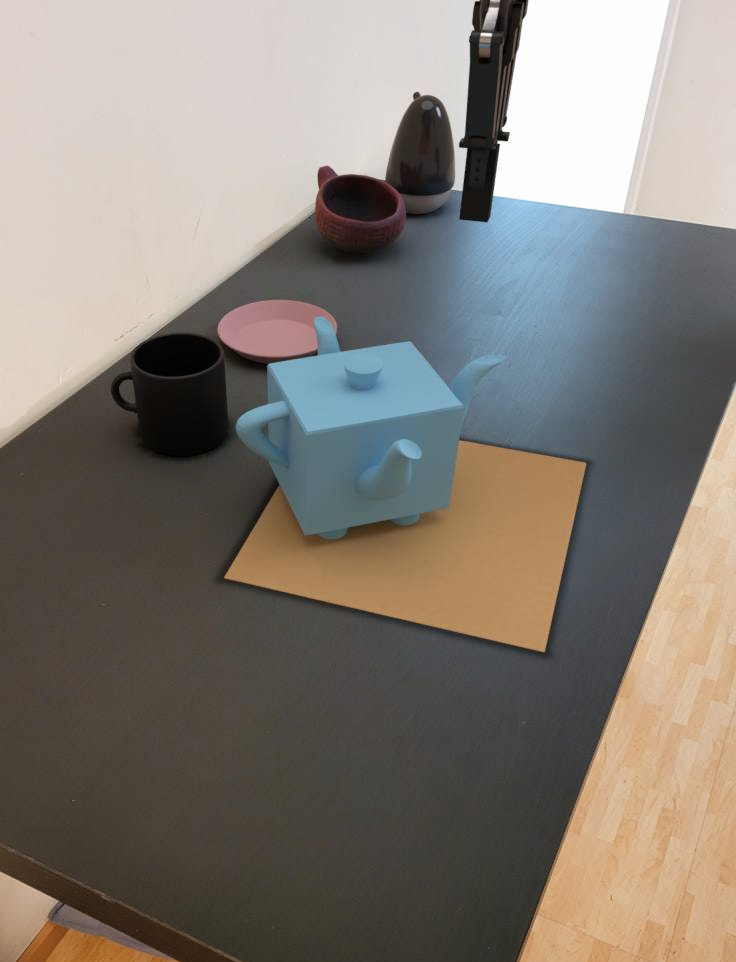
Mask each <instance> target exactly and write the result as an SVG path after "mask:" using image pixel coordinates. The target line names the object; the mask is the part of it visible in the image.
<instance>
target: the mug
mask: <svg viewBox="0 0 736 962" xmlns="http://www.w3.org/2000/svg"><path fill="white" fill-rule="evenodd" d="M225 360H226V359H225V351H224V348H223V346H222V345H221V344H220V343H219V342H218V341H217V340H216V339H214V338H212V337H210V336H208V335H204V334H201V333H196V332H183V331H182V332H169V333H163V334H159V335H154V336H152V337H150V338H148V339H146V340H143V341H142V342H140V343H139V344H138V345H136V346H135V347H134V348H133V350H132V351H131V352H130V357H129V362H130V369H129V370H126V371H122V372H120V373H119V374H117V375H116V376H115V377H114V378H113V380H112V382H111V385H110V395H111V397H112V399H113V401H114V402H115V404H116V405H117V406H118V407H120V408H121V409H123V410H125V411H127V412H131V413H134V414H136V415H137V422H138V423H137V424H138V429H139V436H140V439H141V441H143V443H144V444H145V445H146V446H147V447H148V448H149V449H151V450H152V451H154V452H157V453H159V454H163V455H167V456H175V457H176V456H177V457H181V456H183V457H187V456H193V455H199V454H201V453H205V452H208V451H211V450H212V449H214V448H216V447H217V446H218V445H220V444H221V443H222V442H223V441H224V440H225V438H226V436H227V434H228V431H229V414H228V398H227V397H228V396H227V379H226V378H227V377H226V361H225ZM128 380H129V381H132V385H133V393H134V402H130V401H127V400H126V399H125V398H124V397H123V396H122V394H121V391H120V386H121V384H123V382H125V381H128Z"/></svg>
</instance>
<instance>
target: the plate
mask: <svg viewBox="0 0 736 962" xmlns="http://www.w3.org/2000/svg"><path fill="white" fill-rule="evenodd" d="M316 317H324V318H326V319H327V320H328V321H329V322H330V323H331V324H332V326H333V328H334V331H335V334H336V335H337V333H338V324H337V322H336V319H335V318H334V317H333V316H332V315H331V314H330V313H329V312H328V311H327V310H325V309H323V308H321V307H318V306H317V305H314V304H311V303H307V302H305V301H304V302H303V301H298V300H291V299H289V300H288V299H270V300H259V301H254V302H252V303H248V304H244V305H241V306H238V307H237V308H234V309H232V310H230V311H229V312H228V313H226V314H225V315H223V317H222V318H221V320H220V321H219V322H218V325H217V336H218V337H219V340H221V342H222V343H223V344H224V345H226V346H227V347H228V348H230V349H231V350H232V351H234V352H235V353H236V354H238V355H239V356H241V357H243V358H244V359H247V360H249V361H252V362H255V363H259V364H261V363H262V364H266V365H268V364H271V363H276V362H282V361H288V360H294V359H300V358H306V357H312V356H315V354H317V353H318V343H317V335H316V331H315V327H314V319H315V318H316Z"/></svg>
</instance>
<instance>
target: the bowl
mask: <svg viewBox="0 0 736 962" xmlns="http://www.w3.org/2000/svg"><path fill="white" fill-rule="evenodd" d="M316 178H317V187H318V191H317V194H316V198H315V204H314V206H315V207H314V222H315V226H316V229H317V232H318V233H319V235H320V236H321V238H322V239H323V240H324V241H325V242H326V243H327V244H330V246H333V248H336V249H339V250H342V251H345V252H349V253H356V254H363V253H364V254H365V253H371V252H375V251H379V250H382V249H384V248H386V247H389V246H390V245H392V244H393V243H394V242H395V241H397V239H398V238H399V237H400V236H401V233H402V232H403V230H404V229H405V225H406V223H407V222H406V220H407V212H406V211H405V205H404V201H403V199H402V196H401V195H400V194H399V193H398V191H397V190H395V189H394V188H393V187H392V186H391V185H389V184H388V183H386V182H385V180H381V179H379V178H376V177H373V176H370V175H365V174H354V173H346V174H340V175H339V174H338V173H337V172H335V170H334V169H333V168H332V167H331V166H330V165H322V166H320V167H319V168H318V170H317V176H316Z"/></svg>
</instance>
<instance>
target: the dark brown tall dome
mask: <svg viewBox="0 0 736 962" xmlns="http://www.w3.org/2000/svg"><path fill="white" fill-rule="evenodd" d="M412 99H413V100H412V101H411V103H410V104H409V105H408V106H407V108H406V110H405V112H404V113H403V115H402V118H401V120H400V122H399V123H398V127H397V129H396V132H395V135H394V138H393V141H392V145H391V149H390V152H389V157H388V159H387V160H388V161H387V165H386V170H385V177H384V178H385V179H384V182H386V183H388V184H389V185H391V186H392V187H393V188H394V189H395V190H397V191H398V193H399V194H400V195H401V196H402V199H403V201H404V205H405V211H406V214H411V215H412V214H413V215H424V214H425V215H426V214H429V213H432V212H434V211H436V210H437V209H439V208H441V207H442V206H443V205H444V204H445V203H446V201H447V199H448V198H449V196H450V194H451V191H452V189H453V188H454V187H455V183H456V154H455V153H456V152H455V143H454V136H453V129H452V125H451V120H450V117H449V114H448V111H447V109H446V106H445V104H444V103H443V102H442V101H441V99H440V98H439V97H437V96H435V95H432V94H424V95H421V92H419V91H415V92H414V93H413V94H412Z"/></svg>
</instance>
